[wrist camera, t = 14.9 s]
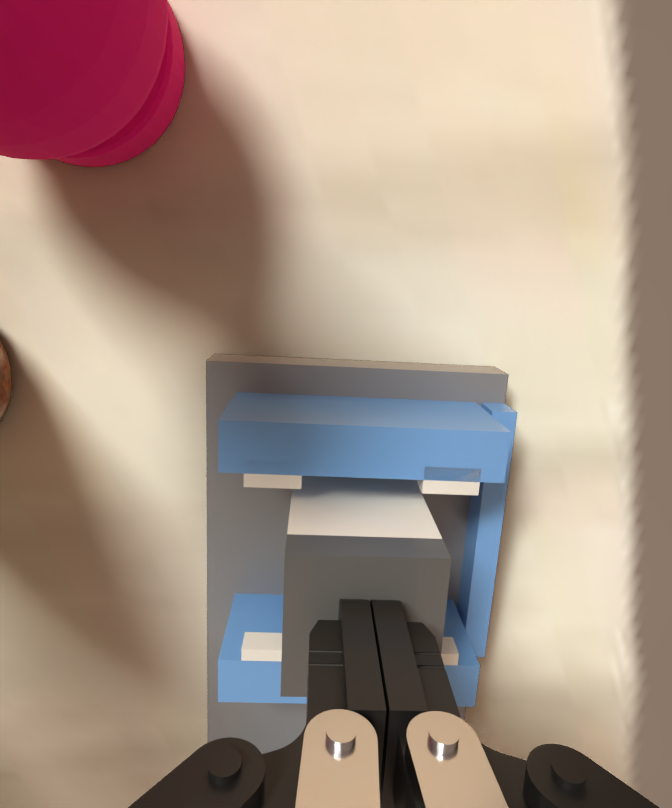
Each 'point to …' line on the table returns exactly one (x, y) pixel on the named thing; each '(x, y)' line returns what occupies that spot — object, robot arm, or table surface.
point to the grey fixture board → (340, 457)
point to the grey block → (358, 560)
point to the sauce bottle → (4, 381)
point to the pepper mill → (87, 78)
